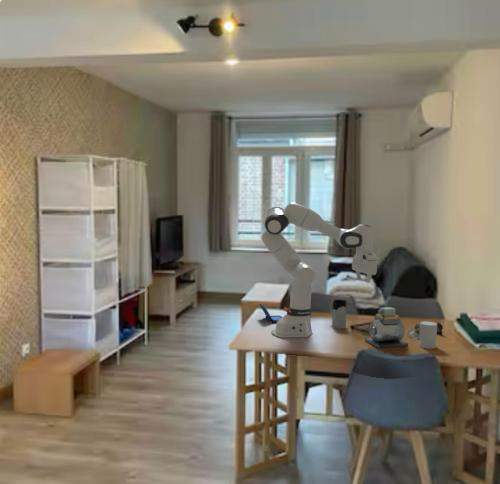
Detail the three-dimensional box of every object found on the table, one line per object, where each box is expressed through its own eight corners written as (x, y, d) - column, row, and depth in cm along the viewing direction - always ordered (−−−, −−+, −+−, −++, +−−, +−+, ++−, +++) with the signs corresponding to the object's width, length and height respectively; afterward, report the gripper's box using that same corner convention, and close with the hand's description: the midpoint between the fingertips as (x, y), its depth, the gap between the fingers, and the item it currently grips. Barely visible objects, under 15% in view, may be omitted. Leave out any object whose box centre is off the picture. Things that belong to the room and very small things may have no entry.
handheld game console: (287, 323, 324) (287, 308, 324) (265, 324, 321) (265, 308, 321) (279, 317, 340) (280, 302, 339) (258, 318, 337) (259, 303, 336)
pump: (381, 319, 280) (381, 309, 279) (376, 317, 284) (377, 307, 284) (394, 318, 282) (395, 308, 282) (390, 316, 287) (390, 307, 286)
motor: (378, 348, 276) (380, 319, 274) (364, 340, 289) (366, 312, 287) (408, 346, 281) (409, 317, 279) (393, 338, 294) (394, 311, 293)
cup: (438, 348, 277) (439, 325, 276) (422, 348, 277) (424, 325, 275) (432, 344, 285) (433, 321, 284) (416, 344, 285) (417, 321, 283)
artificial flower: (446, 338, 303) (448, 322, 299) (412, 346, 295) (414, 330, 292) (435, 330, 311) (437, 314, 307) (402, 337, 303) (404, 322, 299)
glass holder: (336, 328, 313) (337, 303, 312) (323, 323, 326) (324, 298, 324) (349, 327, 317) (350, 302, 315) (335, 322, 329) (336, 297, 328)
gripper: (349, 252, 298) (348, 278, 300) (368, 257, 279) (367, 284, 280) (359, 252, 300) (358, 277, 302) (379, 257, 281) (378, 283, 282)
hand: (363, 281), depth 291 cm, fingers open, 8 cm apart
